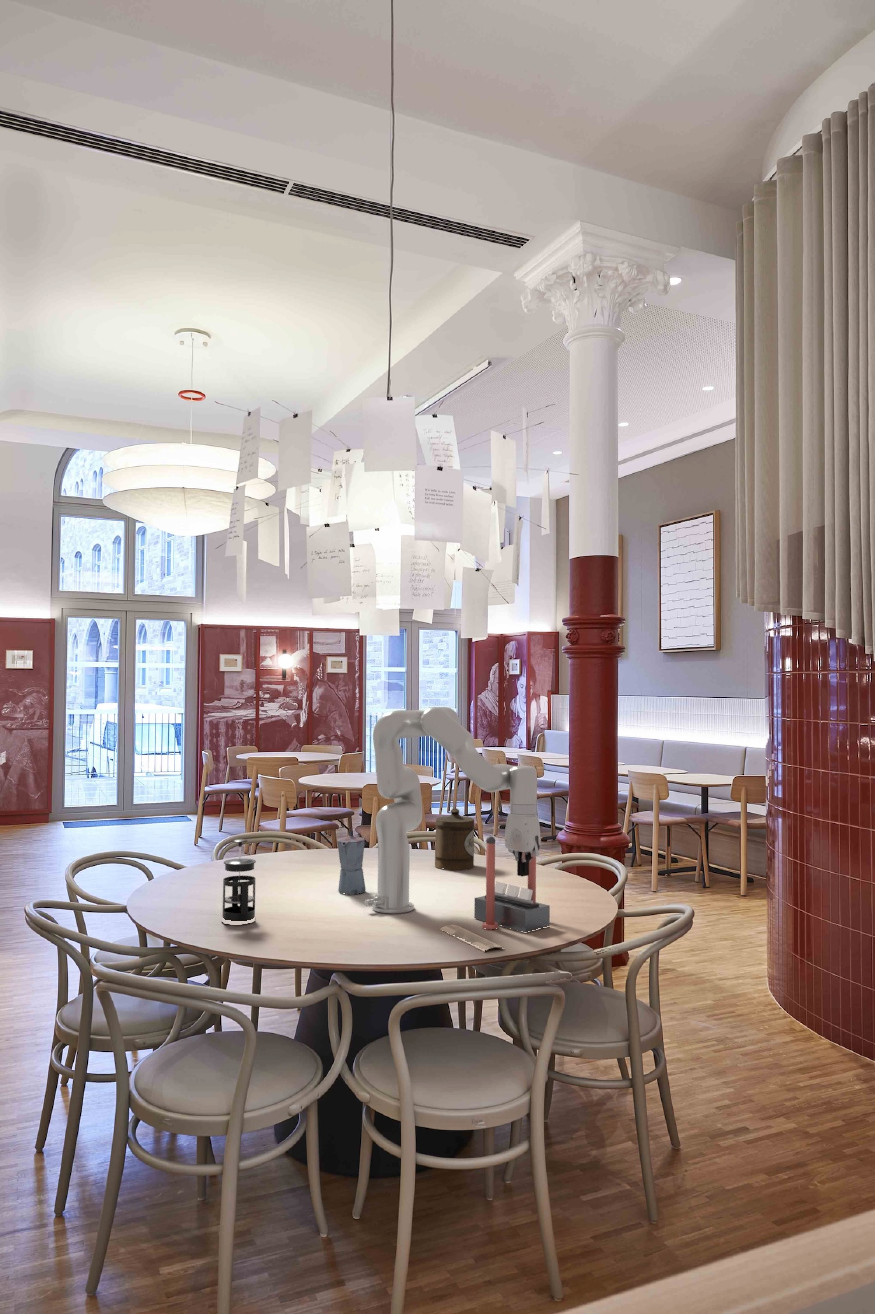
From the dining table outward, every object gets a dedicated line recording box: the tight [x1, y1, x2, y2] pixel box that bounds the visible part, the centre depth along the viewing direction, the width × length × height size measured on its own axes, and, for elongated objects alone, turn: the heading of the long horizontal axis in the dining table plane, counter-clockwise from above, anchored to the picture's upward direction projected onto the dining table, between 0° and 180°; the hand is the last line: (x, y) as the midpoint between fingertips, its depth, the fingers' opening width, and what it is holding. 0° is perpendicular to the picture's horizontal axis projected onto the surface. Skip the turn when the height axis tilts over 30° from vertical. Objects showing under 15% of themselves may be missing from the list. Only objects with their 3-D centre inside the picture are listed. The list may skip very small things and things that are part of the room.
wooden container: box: [434, 807, 475, 871], centre depth 326 cm, size 15×15×22 cm
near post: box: [481, 835, 499, 931], centre depth 239 cm, size 4×4×25 cm
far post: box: [527, 856, 537, 902], centre depth 250 cm, size 4×4×25 cm
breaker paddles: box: [495, 881, 534, 904], centre depth 244 cm, size 1×16×4 cm, turn 41°
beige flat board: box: [439, 924, 505, 951], centre depth 226 cm, size 24×7×2 cm, turn 28°
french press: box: [221, 838, 257, 921], centre depth 243 cm, size 12×9×23 cm
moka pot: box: [336, 830, 367, 895], centre depth 282 cm, size 10×15×20 cm, turn 166°
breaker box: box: [473, 894, 551, 932], centre depth 244 cm, size 10×20×7 cm, turn 41°
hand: (523, 875), depth 241 cm, fingers closed
